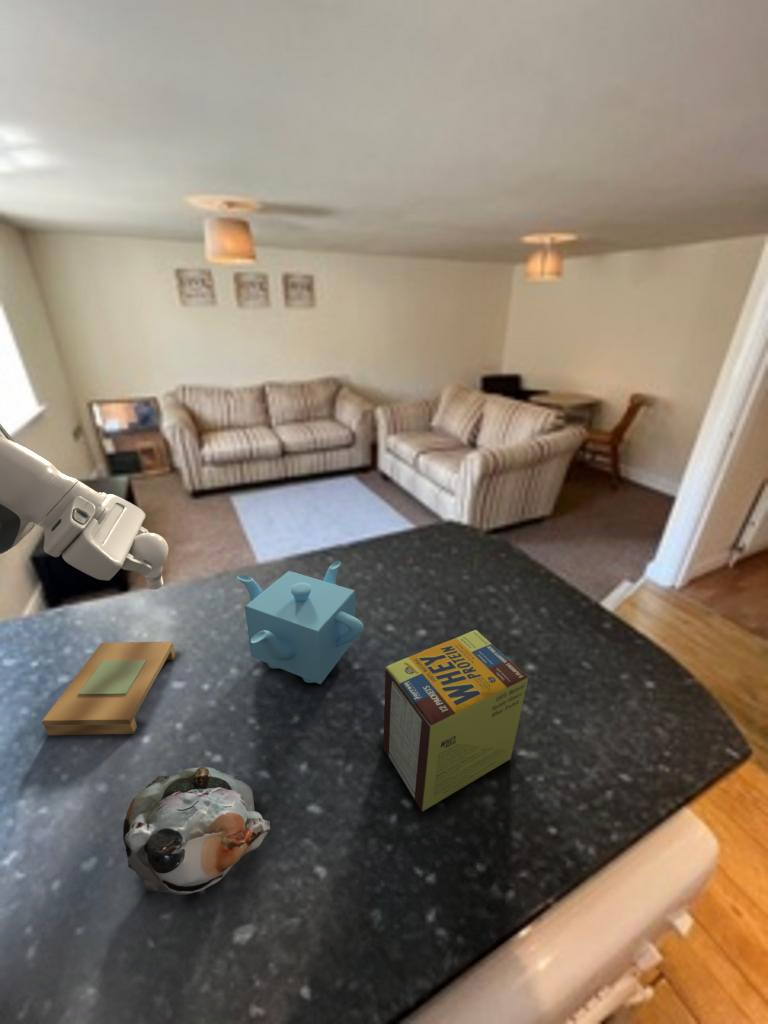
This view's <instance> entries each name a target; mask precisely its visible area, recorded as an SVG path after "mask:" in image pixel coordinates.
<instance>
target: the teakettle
mask: <svg viewBox="0 0 768 1024" xmlns="http://www.w3.org/2000/svg"><path fill="white" fill-rule="evenodd" d="M341 565H342V562H341V561H340V560H337V561H334V562H332V563H331V564H330V565H329V567H328V569H327V570H326V573H325V576H324V578H323V580H321V579H318V578H315V577H311V576H309V575H305V574H301V573H298V572H294V571H291V570H287V571H286V572H285V573H284V574H283V575H281V576H280V577H279V578H278V579H277V580H275V581H274V582H273V583H271V585H269V586H268V587H267V588H266V589H264V590H263V589H262V588H261V586H260V585H259V584H258V583H257V582H256V581H255V580H254V578H252V577H250V576H248V575H244V574H239V575H237V576H236V578H237V580H238V581H239V582H240V583H242V584H243V586H244V587H245V588H246V590H247V592H248V595H249V598H250V602H249V603H247V604H246V605H245V606H244V611H245V618H246V619H245V620H246V627H247V635H248V640H249V642H248V643H249V648H250V649H249V650H250V656H251V658H253V659H256V660H259V661H260V662H263V663H265V664H267V666H268V667H269V668H271V669H275V670H276V669H281V670H284V671H286V672H288V673H291V674H294V675H296V676H298V677H301V678H302V680H303V681H304V682H305V683H307V684H308V683H309V684H311V683H312V684H313V683H316V684H319V685H322V683H323V682H324V681H325V680H326V678H327V677H328V675H330V673H331V671H332V670H333V669H334V668H335V667H336V665H337V664H338V662H340V660H341V659H342V657H343V656H344V655H345V654H346V652H347V651H348V650H349V648H350V647H352V645H353V643H354V642H355V641H356V639H358V638H359V637H360V636H361V635H362V634H363V632H364V624H363V622H362V621H361V620H359V619H358V618H357V617H356V590H355V589H351V588H348V587H345V586H340V585H338V584H337V583H336V582H337V574H338V571H339V570H340V567H341Z"/></svg>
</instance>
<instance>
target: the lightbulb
mask: <svg viewBox="0 0 768 1024" xmlns="http://www.w3.org/2000/svg"><path fill="white" fill-rule="evenodd" d="M129 554H131V555H132V556H134V559H137V560H140V561H144V560H146V561H148V562H149V563H152V564H153V566H152V570H151V571H150V572H149V573H148V575H143V577H144V579H145V583H146V587H147V589H149V590H154V591H155V590H159V589H160V588H162V587H163V586H164V585H165V584H164V578H163V574H162V573H163V568H164V567H163V566H164V563H165V562H166V560H167V558H168V556H169V545H168V542H167V541H166V540H165V538H164V537H163V536H162V535H160V534H158V533H155V532H149V533H142V534H139V535H137V536H136V537H135V540H134V542H133V544H132V546H131V548H130V551H129Z"/></svg>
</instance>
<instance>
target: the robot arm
mask: <svg viewBox="0 0 768 1024" xmlns="http://www.w3.org/2000/svg"><path fill="white" fill-rule="evenodd" d="M146 515H147V514H146V513H145V511H143V509H141V508H140V507H138V506H137V505H135V504H133V503H132V502H130V501H128V500H126V499H125V498H122V497H120V496H118V495H117V494H116V495H115V494H112V493H109V494H107V493H106V492H99V491H96V490H95V489H93V488H91V487H90V486H88V485H86V484H85V483H84V482H82V481H80V480H78V479H77V478H75V477H72V476H68V475H66V474H65V473H63V472H61V471H60V470H58V468H56V466H55V465H54V464H53V463H51V462H50V461H49V460H47V459H46V458H45V457H42V456H40V455H39V454H37V453H35V452H34V451H32V450H31V449H29V448H27V447H25V446H23V445H22V444H19V443H17V442H16V441H15V440H14V438H12V436H11V435H10V433H8V431H7V430H6V429H5V428H4V426H3V425H2V424H1V423H0V555H1V554H5V553H6V552H8V551H9V550H11V549H13V548H14V547H16V546H17V545H18V544H19V543H20V542H21V541H23V539H24V538H25V536H27V535H28V534H29V533H31V531H32V530H33V529H34V528H35V527H36V526H39V527H41V528H42V529H44V541H43V551H44V553H46V554H47V555H49V556H51V557H54V558H58V557H60V556H61V557H62V559H63V560H64V561H65V562H66V563H67V564H68V565H70V566H72V567H73V568H75V569H76V570H78V571H80V572H82V573H84V574H86V575H87V576H90V577H92V578H94V579H96V580H99V581H110V580H111V579H112V578H114V576H115V575H116V574H117V573H118V572H119V571H120V570H121V569H122V570H124V571H130V572H137V573H139V574H140V575H142V576H144V575H148V573H149V572H150V571H151V570H152V566H153V564H152V563H149V562H148V561H146V560H144V561H140V560H137V559H134V556H132V555H131V554H129V551H130V548H131V546H132V544H133V542H134V540H135V537H136V536H137V535H139V534H142V533H150V531H149V530H148V529H147V528H145V527H143V526H142V525H143V524H144V521H145V519H146V517H147V516H146Z"/></svg>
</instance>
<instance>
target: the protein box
mask: <svg viewBox="0 0 768 1024" xmlns="http://www.w3.org/2000/svg"><path fill="white" fill-rule="evenodd" d="M384 670H385V673H384V677H385V678H384V707H383V735H382V736H383V737H382V749H383V751H384V753H385V754H386V756H387V758H388V759H389V761H390V762H391V764H392V766H393V767H394V769H395V770H396V772H397V774H398V775H399V778H401V780H402V782H403V783H404V785H405V787H406V788H407V790H408V791H409V793H410V795H411V797H412V798H413V800H414V801H415V803H416V805H417V806H418V807H419V809H420V811H421V812H425V811H426V810H428V809H430V808H431V807H433V806H435V805H436V804H438V803H439V802H441V801H443V800H444V799H446V798H448V797H449V796H452V795H453V794H455V793H457V791H459V790H461V789H463V788H465V787H466V786H468V785H469V784H471V783H473V782H475V781H476V780H477V779H480V778H481V777H483V776H485V775H486V774H488V773H490V772H491V771H493V770H494V769H496V768H498V767H499V766H501V765H503V764H505V763H507V762H508V761H510V760H511V759H512V756H513V751H514V745H515V742H516V741H515V740H516V736H517V733H518V729H519V724H520V718H521V714H522V710H523V706H524V705H523V704H524V700H525V696H526V691H527V686H528V682H529V676H528V675H527V674H526V673H525V672H524V671H523V670H521V669H520V668H519V667H518V666H517V665H516V664H515V663H514V662H513V661H512V660H510V659H509V658H508V657H507V656H506V655H504V653H502V652H501V651H500V650H499V649H498V648H497V647H496V646H495V645H494V644H493V643H491V642H490V641H489V640H488V639H487V638H486V637H485V636H484V635H483V634H482V633H480V632H479V631H478V630H477V629H474V630H472V631H469V632H467V633H465V634H462V635H460V636H458V637H454V638H453V639H450V640H448V641H445V642H442V643H440V644H437V645H435V646H432V647H430V648H427V649H425V650H422V651H421V652H418V653H415V654H413V655H411V656H408V657H405V658H403V659H401V660H398V661H395V662H393V663H391V664H388V665H387V666H385V668H384Z"/></svg>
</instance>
